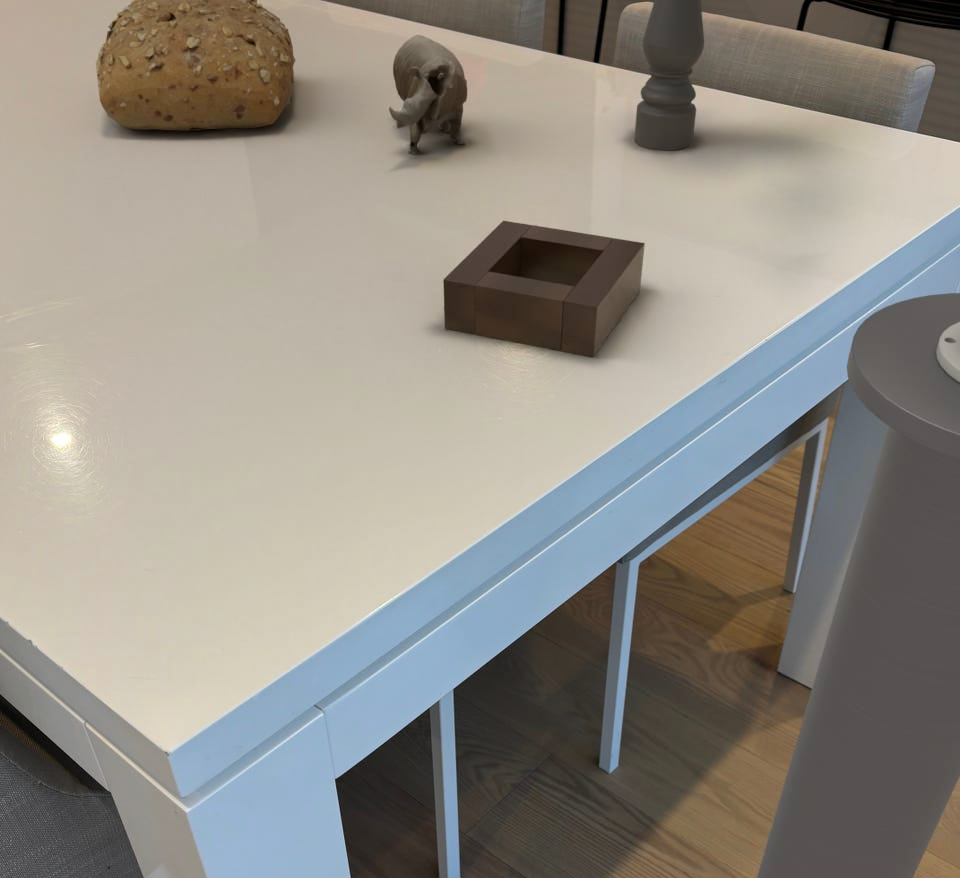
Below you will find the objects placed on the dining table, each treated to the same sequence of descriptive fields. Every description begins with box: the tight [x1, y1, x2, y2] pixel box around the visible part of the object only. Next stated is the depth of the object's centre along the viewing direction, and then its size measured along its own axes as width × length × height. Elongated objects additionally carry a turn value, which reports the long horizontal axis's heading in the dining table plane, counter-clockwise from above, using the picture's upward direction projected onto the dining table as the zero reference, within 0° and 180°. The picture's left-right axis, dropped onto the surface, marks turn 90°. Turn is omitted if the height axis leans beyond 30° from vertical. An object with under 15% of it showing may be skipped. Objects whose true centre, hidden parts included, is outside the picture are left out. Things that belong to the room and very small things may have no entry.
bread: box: [95, 0, 296, 132], centre depth 121 cm, size 24×21×12 cm
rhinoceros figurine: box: [388, 34, 468, 156], centre depth 113 cm, size 8×14×15 cm
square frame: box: [442, 220, 645, 358], centre depth 85 cm, size 12×12×4 cm
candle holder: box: [633, 0, 705, 151], centre depth 107 cm, size 6×6×25 cm
